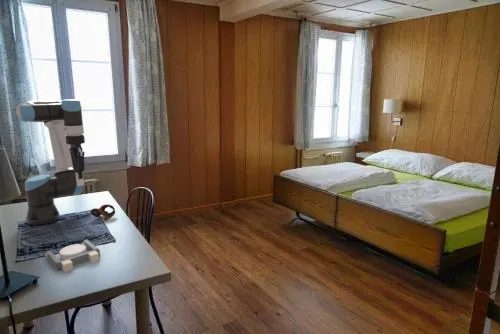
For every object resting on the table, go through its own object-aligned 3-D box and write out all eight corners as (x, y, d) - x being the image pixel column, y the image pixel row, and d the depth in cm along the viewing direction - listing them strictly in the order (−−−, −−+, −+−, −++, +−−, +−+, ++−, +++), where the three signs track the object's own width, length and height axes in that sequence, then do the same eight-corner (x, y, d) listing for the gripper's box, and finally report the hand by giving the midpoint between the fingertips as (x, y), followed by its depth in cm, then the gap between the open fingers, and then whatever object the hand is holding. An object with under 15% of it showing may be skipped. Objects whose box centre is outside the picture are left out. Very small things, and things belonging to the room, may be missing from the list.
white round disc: (58, 255, 141) (57, 248, 140) (83, 248, 147) (82, 241, 146) (62, 265, 133) (61, 257, 132) (89, 257, 139) (88, 249, 138)
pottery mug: (112, 213, 188) (116, 203, 184) (113, 226, 181) (116, 215, 177) (89, 212, 182) (92, 201, 178) (88, 225, 175) (91, 214, 171)
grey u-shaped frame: (45, 256, 139) (44, 250, 139) (86, 244, 150) (85, 238, 150) (60, 273, 127) (59, 266, 126) (103, 258, 138) (102, 252, 137)
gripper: (61, 134, 152) (67, 183, 158) (70, 137, 143) (76, 190, 149) (78, 132, 157) (84, 180, 163) (88, 135, 148) (94, 186, 154)
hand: (80, 185), depth 156 cm, fingers closed
